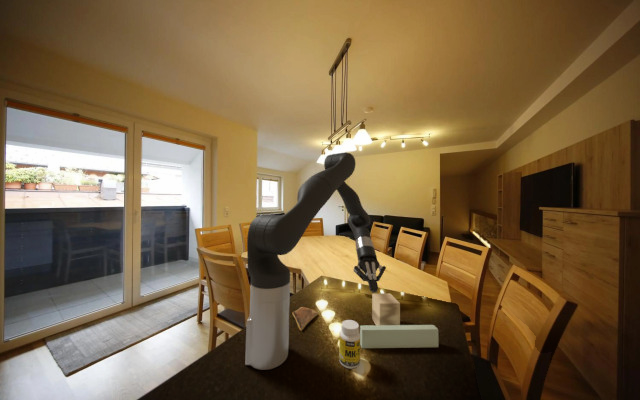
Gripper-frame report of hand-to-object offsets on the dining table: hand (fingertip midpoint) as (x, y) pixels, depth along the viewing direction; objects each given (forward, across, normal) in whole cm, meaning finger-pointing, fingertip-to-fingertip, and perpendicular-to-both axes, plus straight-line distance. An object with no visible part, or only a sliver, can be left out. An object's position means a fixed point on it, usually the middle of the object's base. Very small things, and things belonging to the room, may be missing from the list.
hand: (374, 291), depth 73 cm
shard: (+9, -24, 0) cm, 26 cm away
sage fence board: (+18, 0, -10) cm, 20 cm away
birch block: (+11, 0, -3) cm, 12 cm away
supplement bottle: (+22, -14, -13) cm, 29 cm away
